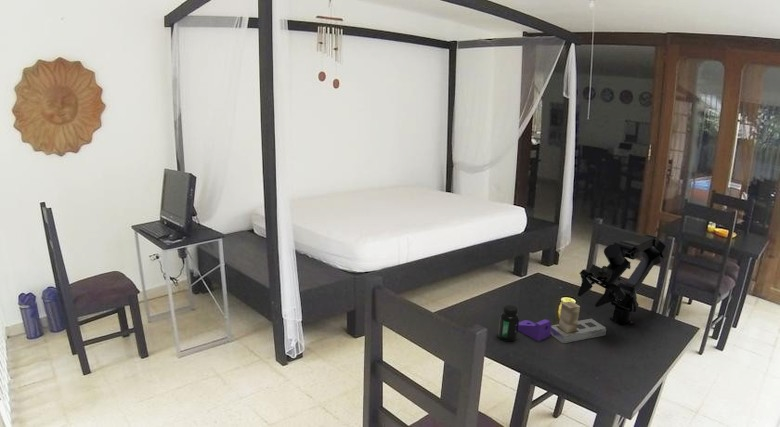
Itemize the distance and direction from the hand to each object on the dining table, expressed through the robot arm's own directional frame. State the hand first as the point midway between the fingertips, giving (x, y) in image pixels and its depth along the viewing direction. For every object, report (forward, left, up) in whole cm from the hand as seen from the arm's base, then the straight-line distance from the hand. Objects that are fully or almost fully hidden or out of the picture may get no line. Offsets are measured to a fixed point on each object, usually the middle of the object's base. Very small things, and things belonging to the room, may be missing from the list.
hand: (586, 301), depth 185 cm
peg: (+7, 0, -13) cm, 15 cm away
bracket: (+18, -7, -14) cm, 24 cm away
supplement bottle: (+29, -6, -14) cm, 33 cm away
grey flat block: (+2, 0, -13) cm, 14 cm away
